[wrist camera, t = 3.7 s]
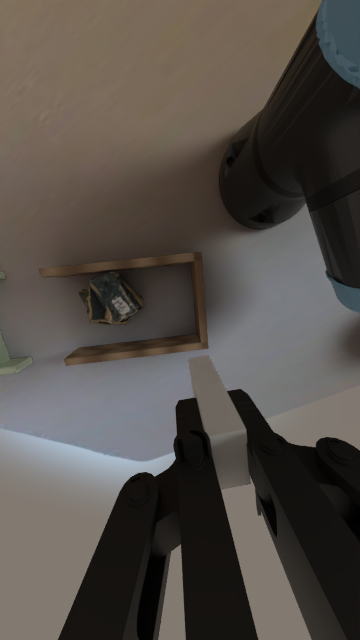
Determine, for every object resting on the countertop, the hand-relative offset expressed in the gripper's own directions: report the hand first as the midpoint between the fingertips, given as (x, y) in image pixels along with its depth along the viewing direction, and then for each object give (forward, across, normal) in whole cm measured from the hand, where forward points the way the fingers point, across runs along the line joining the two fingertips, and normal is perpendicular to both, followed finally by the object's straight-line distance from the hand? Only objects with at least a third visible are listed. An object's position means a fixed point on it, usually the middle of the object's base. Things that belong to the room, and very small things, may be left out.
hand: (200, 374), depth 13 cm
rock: (+23, -14, +3) cm, 27 cm away
